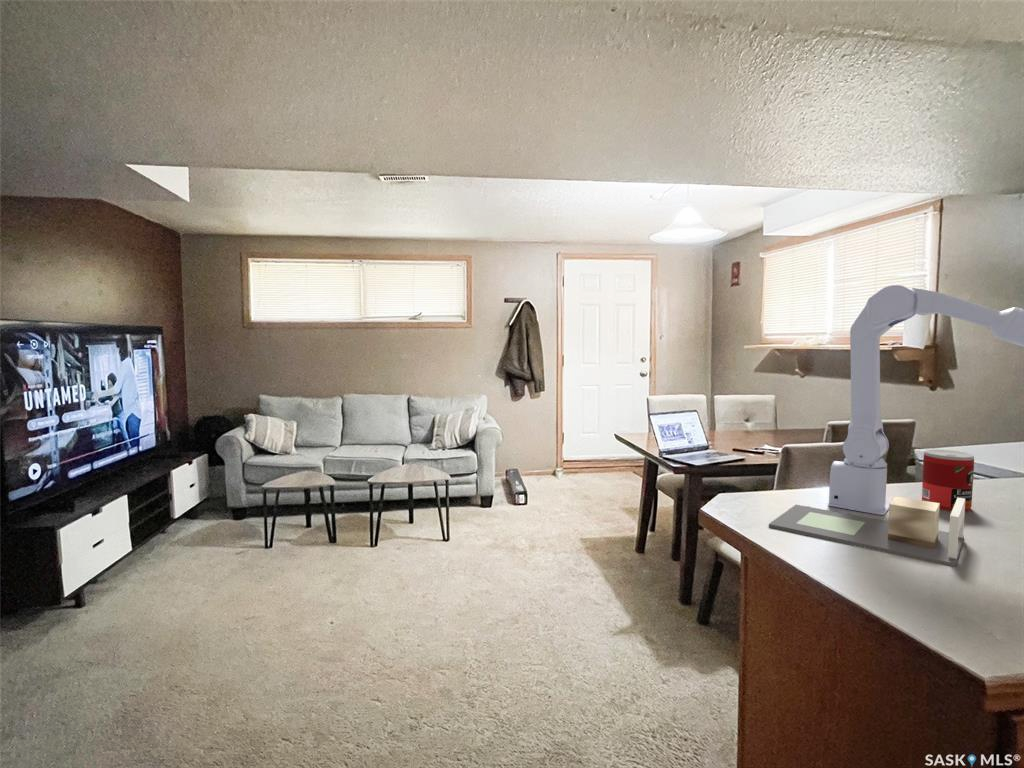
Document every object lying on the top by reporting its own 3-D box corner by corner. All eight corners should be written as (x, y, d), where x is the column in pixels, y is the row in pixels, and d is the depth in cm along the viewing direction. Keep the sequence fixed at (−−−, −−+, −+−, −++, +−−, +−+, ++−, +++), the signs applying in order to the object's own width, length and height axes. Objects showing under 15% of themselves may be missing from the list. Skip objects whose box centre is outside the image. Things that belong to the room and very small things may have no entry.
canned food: (960, 515, 102) (963, 458, 101) (913, 504, 109) (915, 451, 108) (979, 509, 106) (982, 454, 105) (932, 499, 113) (935, 448, 112)
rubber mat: (768, 527, 96) (768, 523, 96) (795, 507, 108) (795, 504, 108) (955, 567, 78) (955, 563, 78) (963, 538, 90) (963, 535, 90)
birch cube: (887, 539, 88) (889, 503, 87) (893, 530, 92) (895, 496, 92) (933, 548, 84) (935, 511, 83) (937, 538, 88) (939, 503, 88)
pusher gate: (947, 556, 80) (950, 515, 79) (955, 534, 89) (957, 497, 89) (956, 558, 79) (958, 517, 79) (963, 535, 88) (965, 498, 88)
